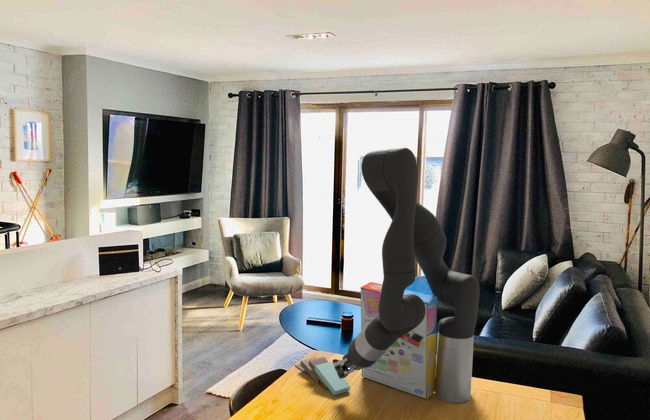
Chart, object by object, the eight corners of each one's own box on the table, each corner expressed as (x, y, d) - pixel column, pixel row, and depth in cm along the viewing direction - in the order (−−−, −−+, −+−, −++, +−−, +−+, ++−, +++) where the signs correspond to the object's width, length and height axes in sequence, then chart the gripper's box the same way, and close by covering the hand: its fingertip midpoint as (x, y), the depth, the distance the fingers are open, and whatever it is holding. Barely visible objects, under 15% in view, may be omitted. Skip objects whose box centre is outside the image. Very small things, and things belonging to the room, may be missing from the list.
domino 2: (333, 374, 147) (315, 357, 155) (318, 378, 144) (300, 360, 152) (332, 379, 147) (314, 361, 156) (317, 383, 145) (300, 365, 153)
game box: (436, 391, 141) (439, 296, 135) (427, 401, 136) (429, 303, 130) (370, 368, 153) (370, 280, 147) (360, 376, 149) (359, 286, 143)
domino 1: (326, 373, 150) (309, 361, 159) (311, 377, 148) (294, 364, 156) (326, 379, 150) (309, 366, 159) (311, 382, 148) (294, 369, 156)
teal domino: (350, 386, 140) (330, 361, 147) (335, 391, 137) (315, 365, 144) (349, 391, 140) (329, 365, 147) (333, 395, 137) (314, 369, 145)
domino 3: (342, 380, 143) (324, 356, 151) (327, 384, 140) (309, 360, 148) (341, 385, 144) (322, 360, 151) (326, 389, 141) (308, 364, 148)
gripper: (385, 327, 132) (356, 357, 144) (341, 335, 125) (314, 366, 137) (397, 355, 128) (366, 383, 140) (352, 365, 121) (324, 393, 133)
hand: (340, 374), depth 138 cm, fingers closed
